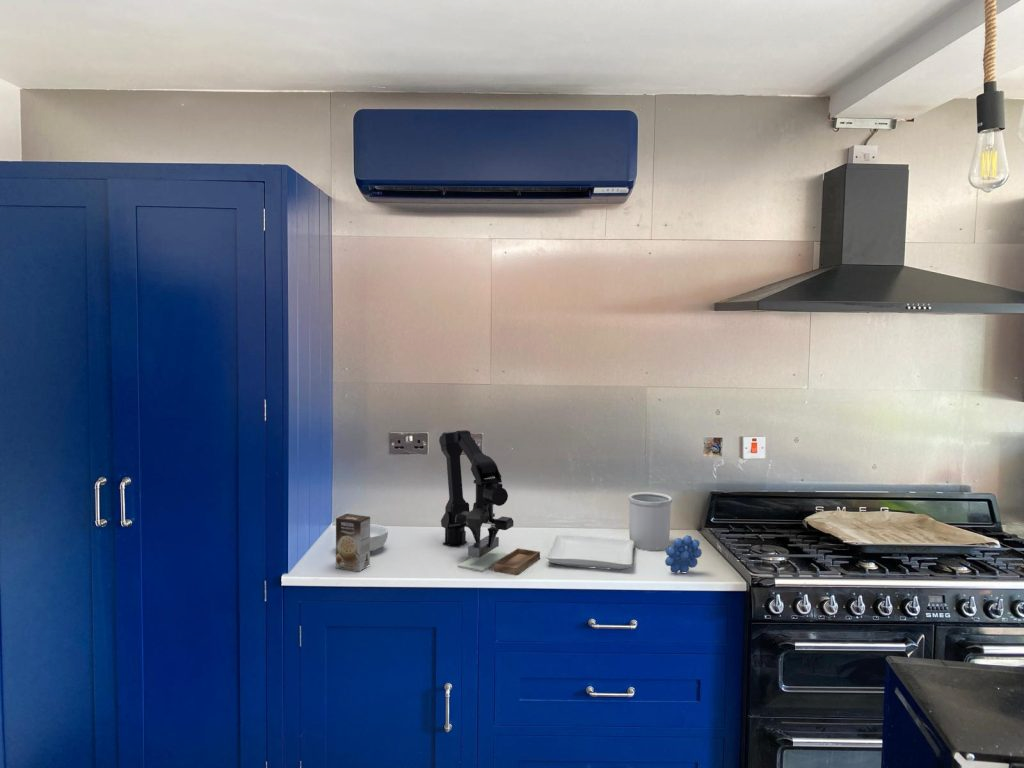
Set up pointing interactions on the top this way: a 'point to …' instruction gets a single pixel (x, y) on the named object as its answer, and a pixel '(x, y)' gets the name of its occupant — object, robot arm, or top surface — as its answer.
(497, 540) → the gunmetal bar
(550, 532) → the top surface
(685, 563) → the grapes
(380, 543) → the cereal bowl
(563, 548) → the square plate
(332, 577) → the top surface
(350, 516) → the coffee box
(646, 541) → the utensil holder
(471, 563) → the sage mat
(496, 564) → the walnut slot tray
